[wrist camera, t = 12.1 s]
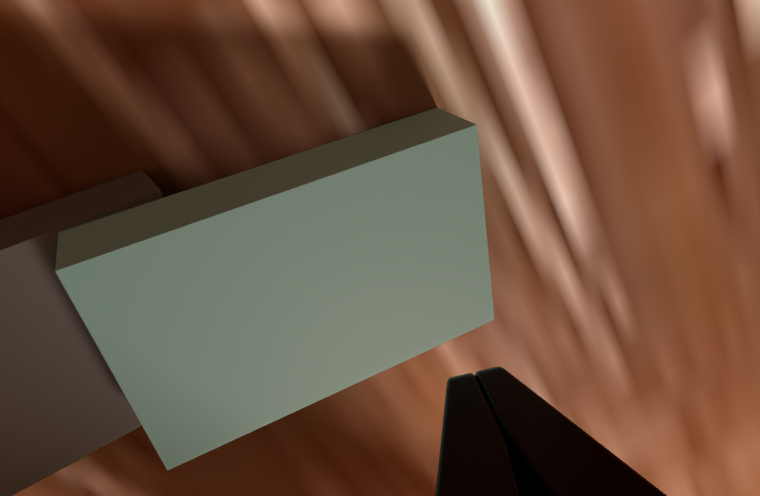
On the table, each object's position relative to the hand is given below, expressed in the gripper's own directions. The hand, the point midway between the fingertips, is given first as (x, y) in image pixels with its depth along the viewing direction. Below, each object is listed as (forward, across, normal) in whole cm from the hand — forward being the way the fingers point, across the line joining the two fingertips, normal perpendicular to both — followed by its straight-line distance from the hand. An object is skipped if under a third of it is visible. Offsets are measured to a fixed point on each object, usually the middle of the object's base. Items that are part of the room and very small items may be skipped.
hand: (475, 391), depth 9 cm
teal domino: (+5, -1, 0) cm, 5 cm away
